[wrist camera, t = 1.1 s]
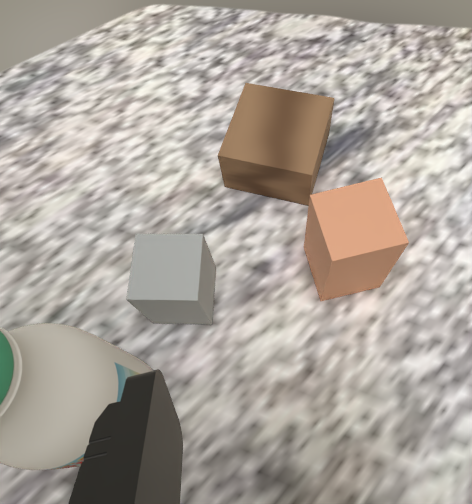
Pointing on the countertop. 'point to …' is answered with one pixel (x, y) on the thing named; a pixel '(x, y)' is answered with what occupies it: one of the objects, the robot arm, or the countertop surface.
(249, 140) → the walnut block
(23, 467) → the milk bottle
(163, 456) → the robot arm
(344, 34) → the countertop surface
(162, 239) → the slate block
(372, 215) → the terracotta block
